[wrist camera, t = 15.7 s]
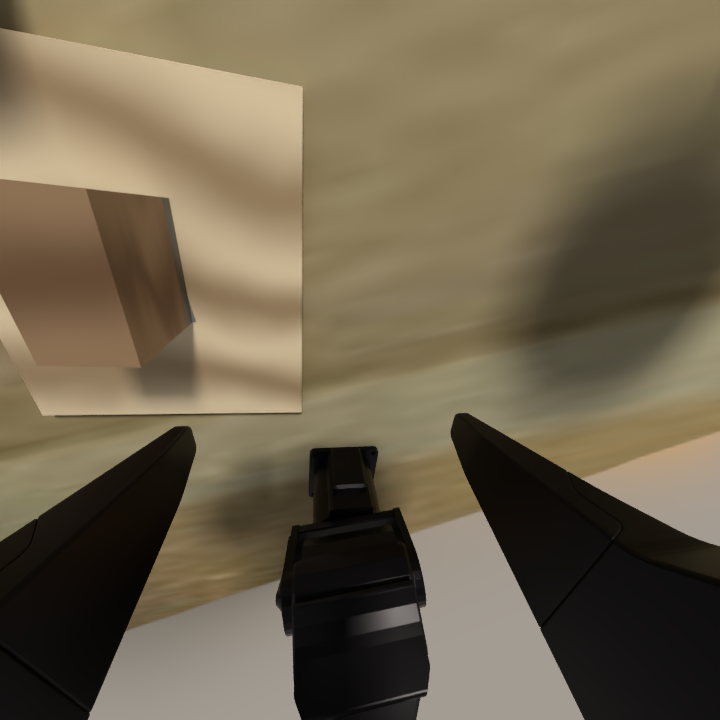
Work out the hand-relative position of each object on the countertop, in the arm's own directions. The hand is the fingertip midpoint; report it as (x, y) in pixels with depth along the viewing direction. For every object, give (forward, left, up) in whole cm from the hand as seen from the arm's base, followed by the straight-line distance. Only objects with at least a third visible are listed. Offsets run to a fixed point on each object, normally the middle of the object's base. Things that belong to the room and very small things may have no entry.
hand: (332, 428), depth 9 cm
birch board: (+2, +11, -12) cm, 16 cm away
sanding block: (+3, +11, -11) cm, 15 cm away
